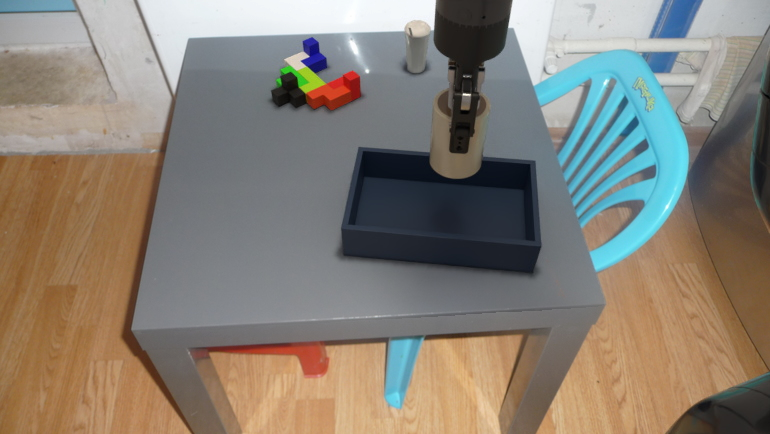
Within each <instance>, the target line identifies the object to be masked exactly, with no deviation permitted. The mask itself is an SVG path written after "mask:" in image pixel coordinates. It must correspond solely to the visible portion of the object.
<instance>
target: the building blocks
mask: <svg viewBox="0 0 770 434" xmlns="http://www.w3.org/2000/svg"><path fill="white" fill-rule="evenodd" d="M302 49H303V51H300V52H299V53H298V52H297V53H296V54H293V55H291V56H288V57H286V58H284V59H283V63H284V67H282V68H280V69H279V71H280V76H279V78H277V79H276V80H275V82H276V88H274V89H272V90H270V92H271V99H272V101H273V102H274V104H276V105H277V106H278V107H282V106H283V105H285V104H287V103H290V104H292V106H294V108H298V107H300V106H303V105H305V104H308V105H309V106H310V107H311V108H312V109H313V110H315V109H318V108H320V107H322V106H326V108H328V110H330V111H334V110H336V109H338V108H340V107H343V106H344V105H346V104H349V103H351V102H352V101H355V100H356V99H359V98H361V97H362V93H361V75H359V74H358V73H357V72H355V71H354V70H349V71H348V72H346V73H343V74H342V76H340V77H338V78H336V79H334V80H332V81H328V82H327V83H326V82H325V81H324V80H323V79H321V77H319V76H318V75H317V74H316V73H318V72H320V71H324V70H325V69H327V68H328V61H327V57H326V56H325V55H324V54H322V53H321V51H320V42H319V41H318V40H317V39H315V38H314V37H313V36H311V37H309V38H306V39H303V40H302Z"/></svg>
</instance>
